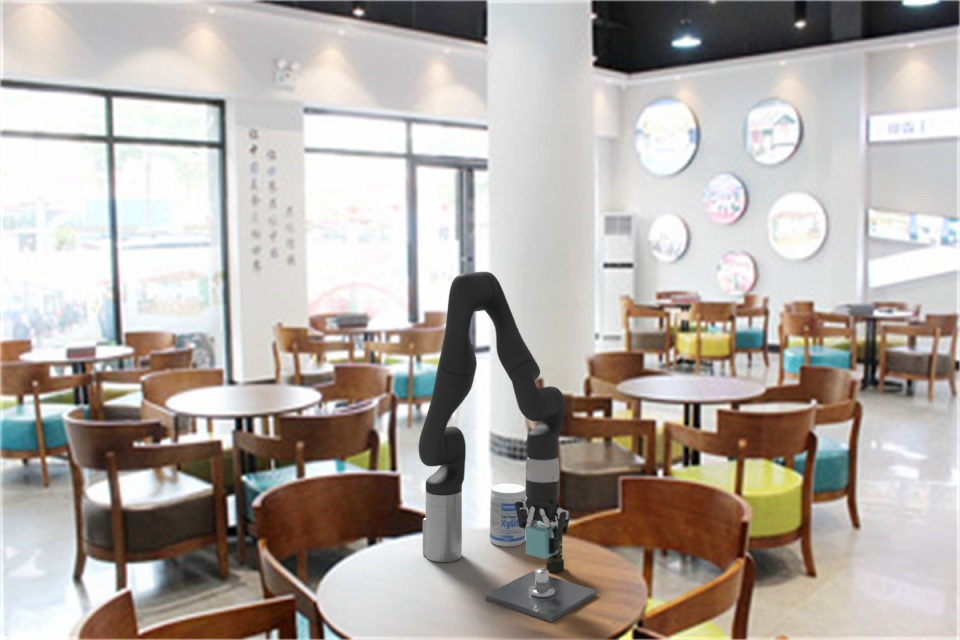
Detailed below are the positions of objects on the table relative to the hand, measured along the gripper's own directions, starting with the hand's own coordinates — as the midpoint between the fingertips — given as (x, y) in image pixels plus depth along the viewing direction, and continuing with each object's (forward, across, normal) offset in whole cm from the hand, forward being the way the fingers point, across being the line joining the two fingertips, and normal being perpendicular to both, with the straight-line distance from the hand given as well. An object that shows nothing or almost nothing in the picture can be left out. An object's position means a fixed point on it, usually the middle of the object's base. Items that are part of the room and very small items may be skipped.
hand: (542, 550), depth 195 cm
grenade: (+11, -7, +15) cm, 20 cm away
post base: (+11, 0, 0) cm, 11 cm away
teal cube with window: (+1, 0, 0) cm, 1 cm away
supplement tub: (+11, -28, +24) cm, 39 cm away
